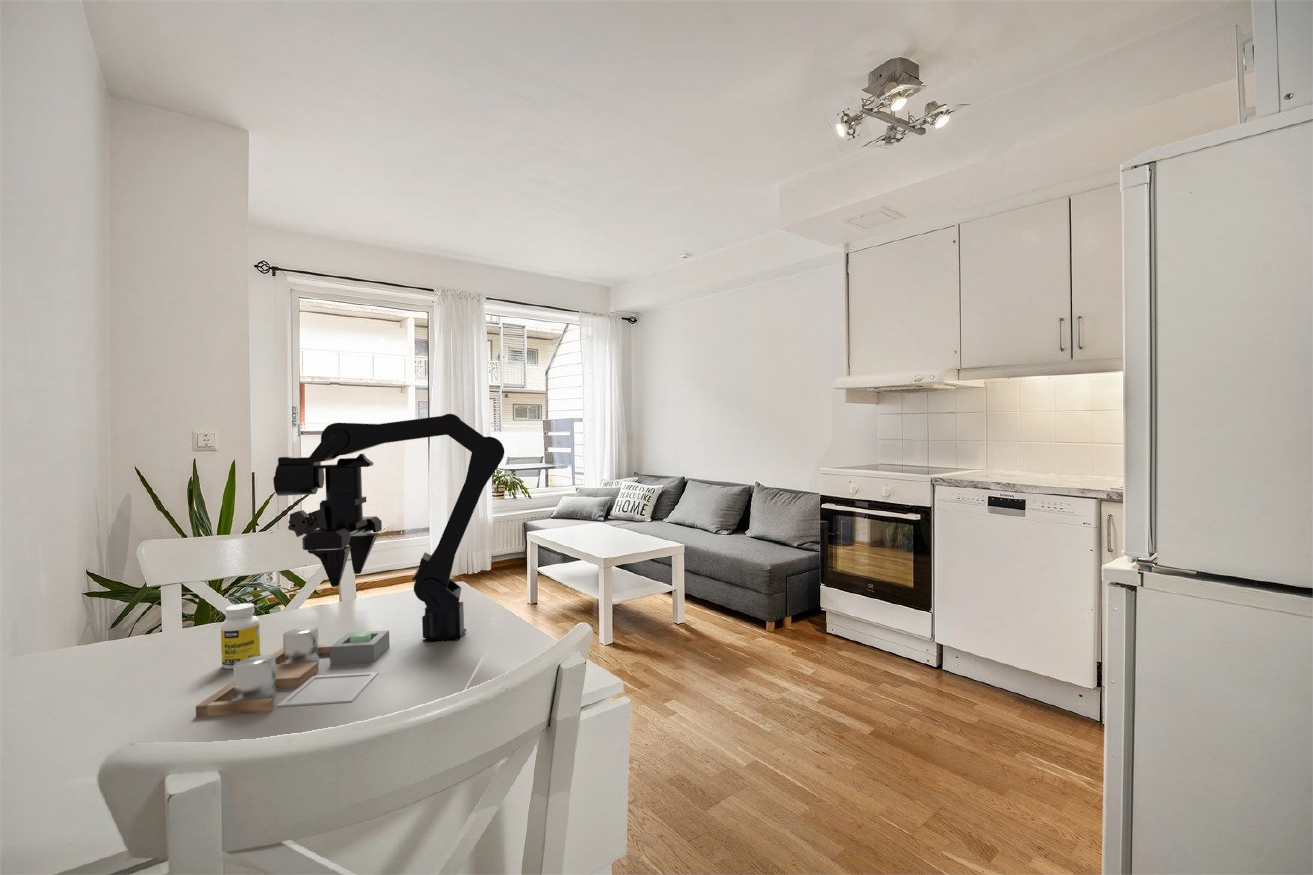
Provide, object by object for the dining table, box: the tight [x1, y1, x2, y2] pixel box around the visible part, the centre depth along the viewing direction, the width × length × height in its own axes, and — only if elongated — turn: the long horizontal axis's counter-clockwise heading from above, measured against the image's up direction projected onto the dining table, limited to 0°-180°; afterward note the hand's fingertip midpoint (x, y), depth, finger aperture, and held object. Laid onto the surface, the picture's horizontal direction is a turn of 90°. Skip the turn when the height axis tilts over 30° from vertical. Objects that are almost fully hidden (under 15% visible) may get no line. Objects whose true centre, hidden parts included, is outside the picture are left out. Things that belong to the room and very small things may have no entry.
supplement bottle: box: [220, 602, 261, 670], centre depth 101 cm, size 5×5×10 cm
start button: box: [350, 631, 371, 643], centre depth 102 cm, size 3×3×3 cm
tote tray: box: [276, 671, 379, 708], centre depth 88 cm, size 10×10×1 cm
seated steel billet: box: [233, 654, 277, 701], centre depth 86 cm, size 5×5×6 cm
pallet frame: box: [195, 644, 333, 718], centre depth 92 cm, size 10×22×2 cm, turn 5°
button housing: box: [329, 630, 390, 666], centre depth 102 cm, size 7×7×4 cm
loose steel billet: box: [282, 626, 320, 664], centre depth 99 cm, size 5×5×6 cm
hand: (346, 579), depth 106 cm, fingers open, 9 cm apart
